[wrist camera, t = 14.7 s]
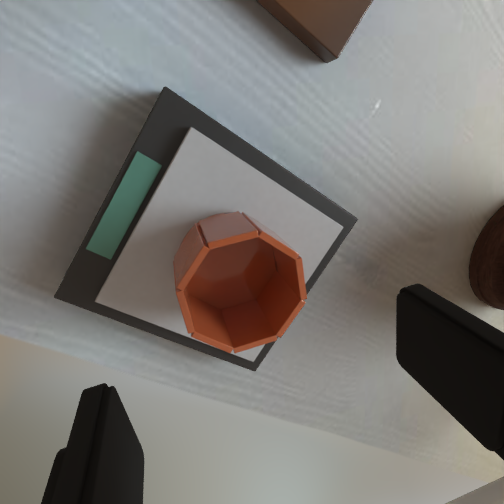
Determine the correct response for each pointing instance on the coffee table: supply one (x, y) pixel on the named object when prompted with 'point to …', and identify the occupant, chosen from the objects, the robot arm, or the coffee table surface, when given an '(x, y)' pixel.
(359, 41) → the coffee table surface
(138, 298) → the scale
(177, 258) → the bowl
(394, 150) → the coffee table surface
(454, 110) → the coffee table surface
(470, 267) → the black orb ornament
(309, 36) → the stand
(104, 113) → the coffee table surface
